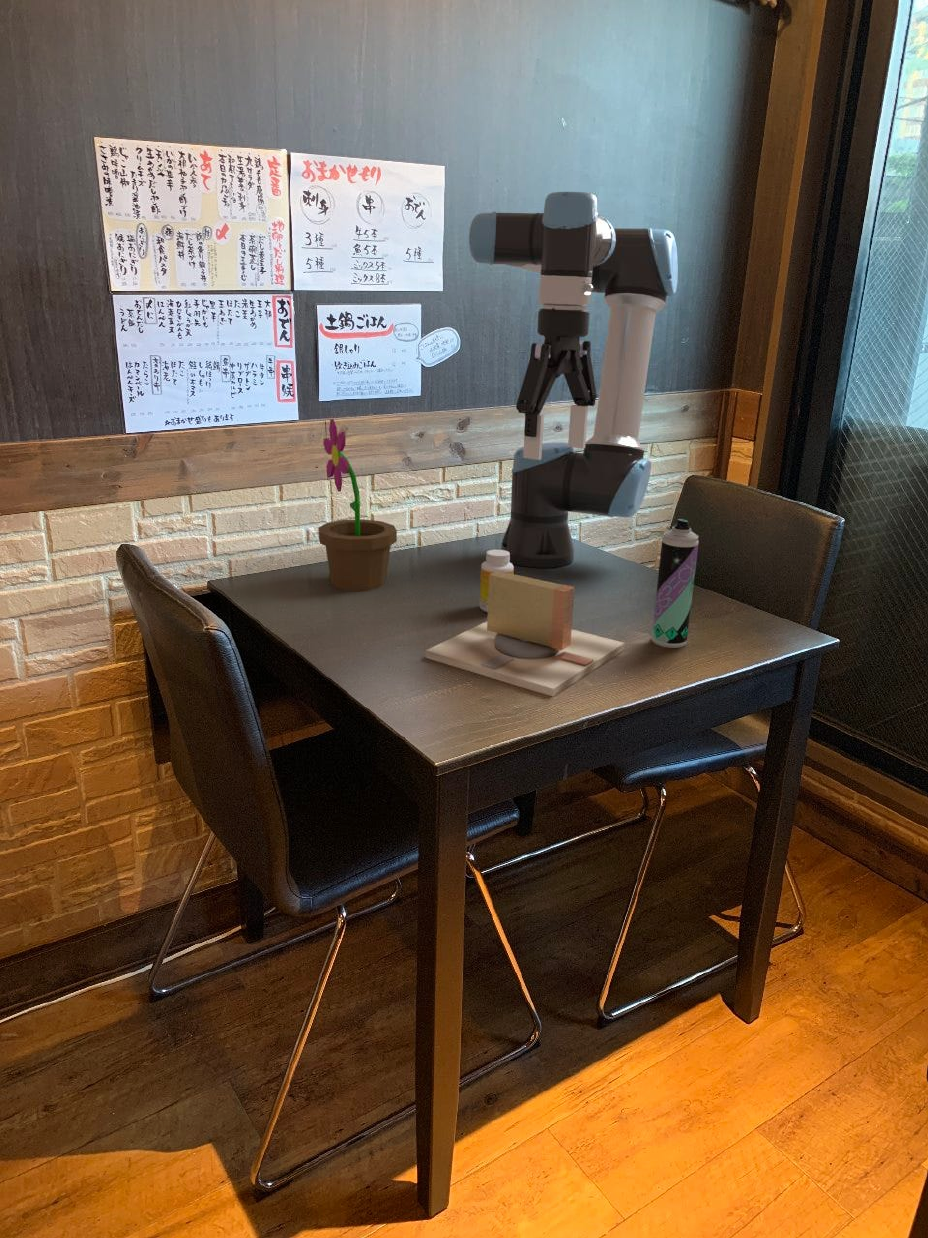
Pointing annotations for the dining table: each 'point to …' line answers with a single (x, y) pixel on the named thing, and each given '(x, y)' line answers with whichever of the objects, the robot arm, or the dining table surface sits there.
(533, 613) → the tan rectangular block
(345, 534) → the flowerpot
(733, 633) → the dining table surface
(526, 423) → the robot arm
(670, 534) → the spray can
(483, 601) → the supplement bottle
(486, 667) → the board
